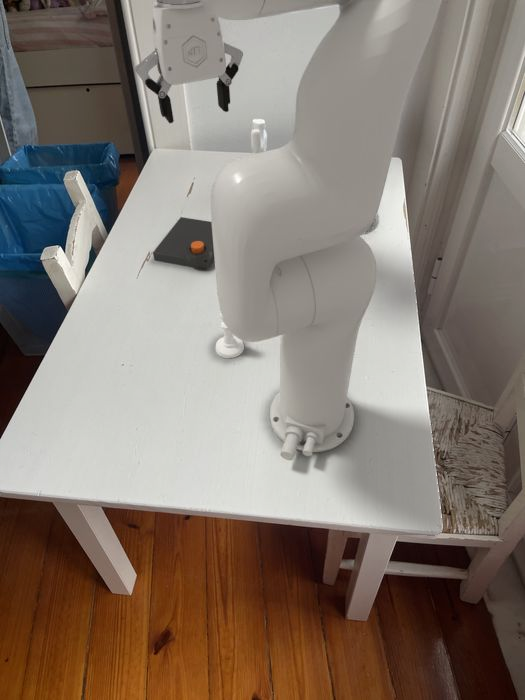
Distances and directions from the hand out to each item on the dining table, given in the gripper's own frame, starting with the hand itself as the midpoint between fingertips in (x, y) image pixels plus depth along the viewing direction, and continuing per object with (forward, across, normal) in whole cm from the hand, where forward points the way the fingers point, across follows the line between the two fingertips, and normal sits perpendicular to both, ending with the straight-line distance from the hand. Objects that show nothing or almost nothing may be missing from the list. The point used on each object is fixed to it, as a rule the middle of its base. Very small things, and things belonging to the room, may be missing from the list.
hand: (196, 114), depth 81 cm
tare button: (+25, -4, -2) cm, 26 cm away
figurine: (+29, +22, +24) cm, 44 cm away
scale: (+29, -3, +4) cm, 29 cm away
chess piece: (+28, -7, -27) cm, 40 cm away
